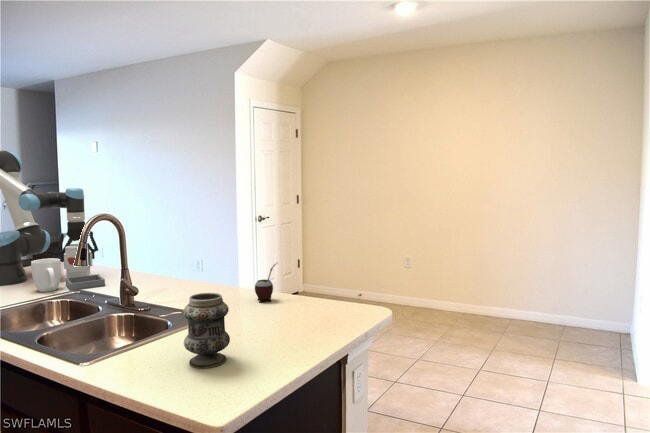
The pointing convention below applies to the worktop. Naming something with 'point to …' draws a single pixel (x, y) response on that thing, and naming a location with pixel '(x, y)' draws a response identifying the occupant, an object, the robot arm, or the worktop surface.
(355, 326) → the worktop surface
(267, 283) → the mate gourd
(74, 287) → the tray
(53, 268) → the mug
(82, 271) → the supplement box
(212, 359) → the apothecary jar
